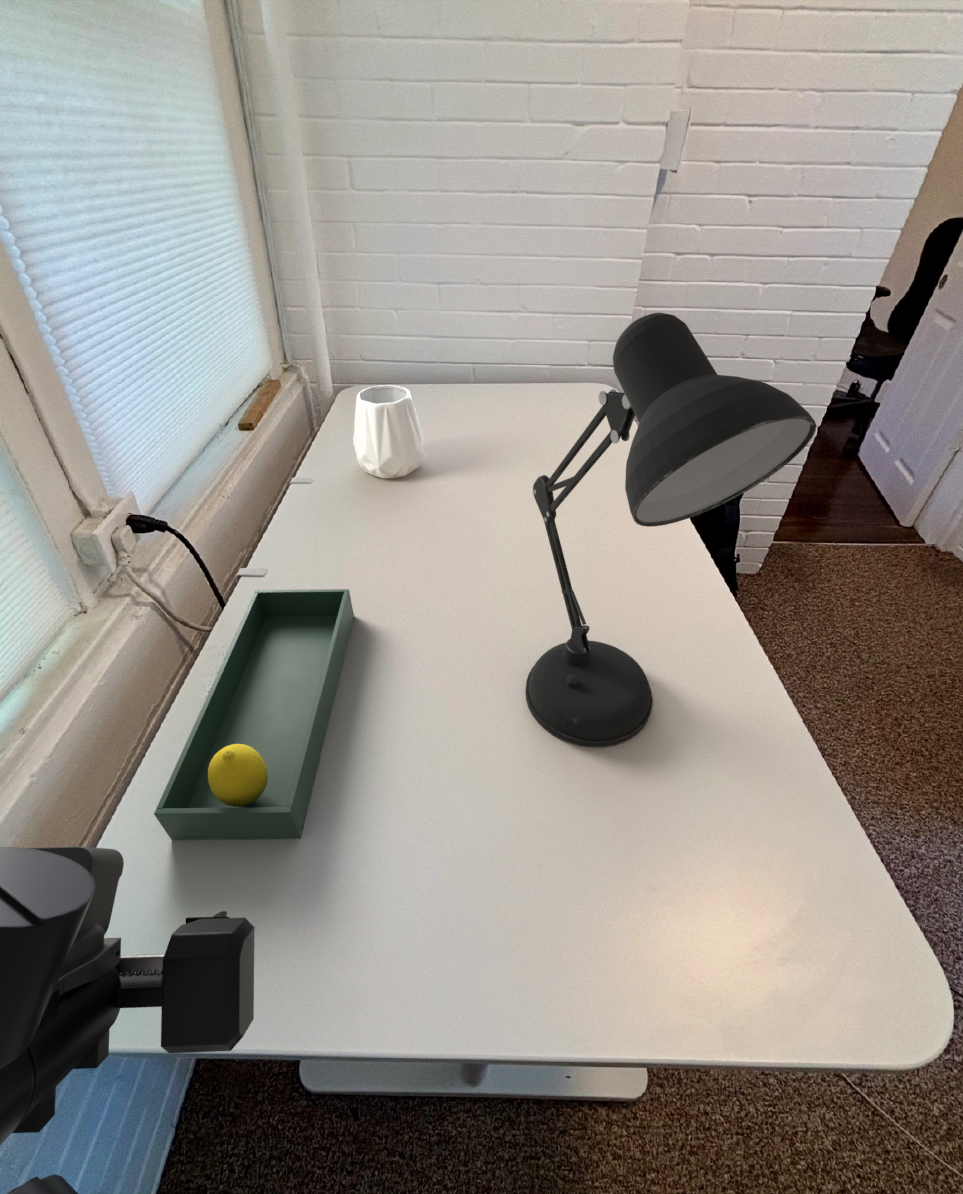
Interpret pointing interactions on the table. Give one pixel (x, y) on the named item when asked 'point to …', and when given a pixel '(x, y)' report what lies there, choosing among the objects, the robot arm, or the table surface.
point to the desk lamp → (656, 501)
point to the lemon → (237, 775)
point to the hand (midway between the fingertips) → (158, 920)
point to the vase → (387, 432)
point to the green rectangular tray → (265, 716)
